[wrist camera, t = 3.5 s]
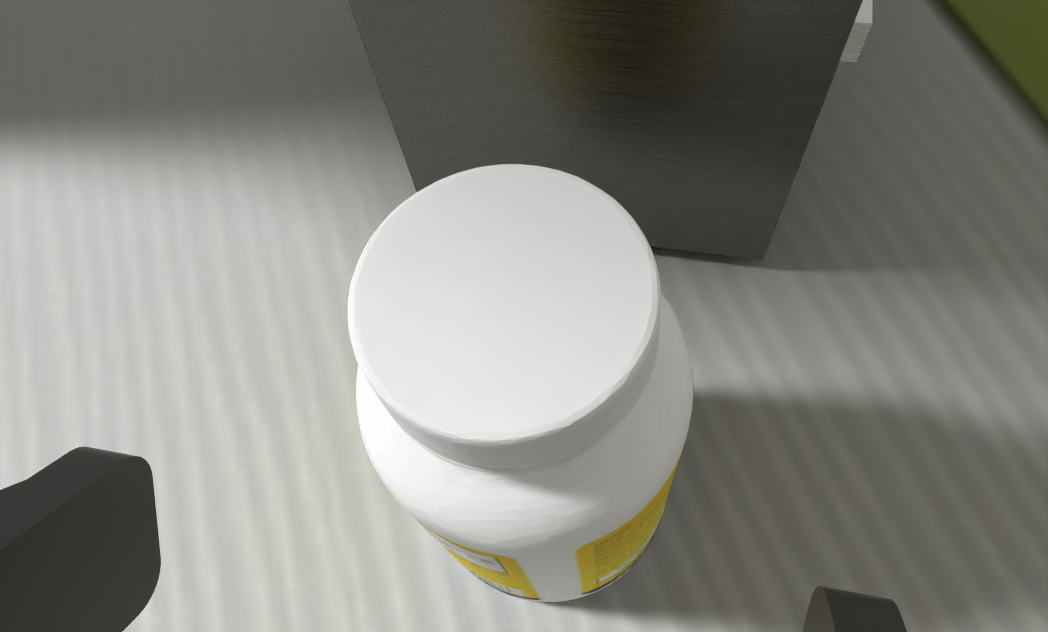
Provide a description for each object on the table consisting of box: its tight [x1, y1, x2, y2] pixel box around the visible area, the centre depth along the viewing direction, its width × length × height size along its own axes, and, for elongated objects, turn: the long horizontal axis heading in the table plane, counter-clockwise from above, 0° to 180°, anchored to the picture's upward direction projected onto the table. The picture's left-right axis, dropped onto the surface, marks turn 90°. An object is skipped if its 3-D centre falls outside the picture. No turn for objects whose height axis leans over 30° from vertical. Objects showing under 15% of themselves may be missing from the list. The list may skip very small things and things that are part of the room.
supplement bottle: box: [348, 164, 694, 602], centre depth 14 cm, size 5×5×10 cm
